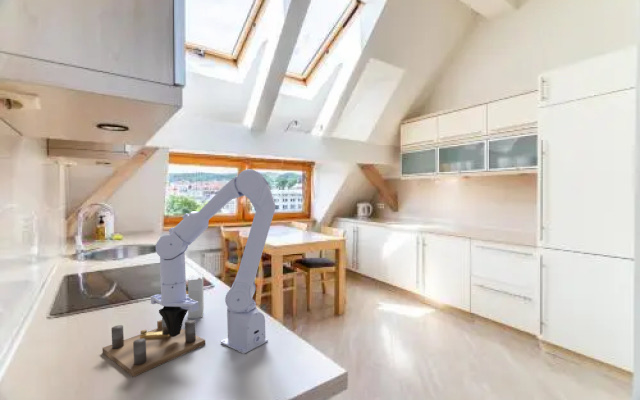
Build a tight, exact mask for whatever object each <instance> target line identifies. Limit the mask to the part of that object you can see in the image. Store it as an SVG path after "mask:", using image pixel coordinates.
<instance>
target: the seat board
mask: <svg viewBox="0 0 640 400" xmlns="http://www.w3.org/2000/svg"><path fill="white" fill-rule="evenodd" d="M156 322H157V324H156V325H157V328H155V329H151V330H149V331H148V330H147V329H143V330H140V334H137V335H134V336H131V337H128V338H126V339H124V338H125V337H124V325H122V324H120V325H119V324H117V325H114V326H112V327H111V344H110V345H107V346H104V347H101V348H102V350H101V351H102V354H103V355H105V356H106V357H107V358H109V359H110V360H111V361H113V362H114V363H115V364H116V365H117V366H119V367H121V369H123V370H124V371H125V372H127V374H129V375H130V376H132V377H133V378H135V377H136V376H139V375H142V373H145V372H148V371H150V370H153V369H154V368H156V367H158V366H161V365H163V364H165V363H167V362H170V361H172V360H174V359H176V358H179V357H181V356H183V355H186V354H188V353H190V352H192V351H194V350H196V349H199V348H201V347H203V346H206V339H205V338H202V337H200V336H198V335H196V334H197V333H196V320H193V319H191V320H186V321H185V322H184V329H183V328H182V327H181V332H180V334H179V335H177V336H175V337H171V336H169V337H166V338H145V339H144V338H141V339H140V335H141V334H145V333H147V332H162V319H160V320H157V321H156Z"/></svg>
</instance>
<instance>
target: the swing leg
mask: <svg viewBox="0 0 640 400" xmlns="http://www.w3.org/2000/svg"><path fill="white" fill-rule="evenodd" d="M161 320H162V332H148V331H147V333H145V334H141V333H140V334H141V335H140V334H139V335H140V339H141V338H144V339H145V338H166V337H169V336H170V335H169V332H168V329H167V326H166V323H165V321H164V319H163V317H161Z"/></svg>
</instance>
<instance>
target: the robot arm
mask: <svg viewBox="0 0 640 400" xmlns="http://www.w3.org/2000/svg"><path fill="white" fill-rule="evenodd" d="M241 197H245V198H247V199H248V200H249V202H250V203H251V205H252V207H253V208H254V210H255V213H254V216H253V220H252V223H251V227H250V230H249V232H248V237H247V240H246V243H245V247H244V250H243V253H242V257H241V261H240V264H239V266H238V267H239V268H238V271H237V273H236V276H235V278H234V281H233V282H232V285H231V287H230V289H228V291H227V293H226V295H225V298H224V300H225V305H226V317H227V322H226V323H227V337H226V338H224V339H222V340H220V344H223V345H224V346H226V347H229V348H231V349H233V350H235V351H237V352H239V353H242V354H246V353H249V352H250V351H252V350H254V349H256V348H258V347H259V346H261V345H263V344H265V343H267V342H268V341H269V339H268V338H266V318H265V315H264V314H263V313H262V312H261V311H259V309H258V307H257V303H256V301H255V300H254V298H253V297H254V295H255V292H256V290H257V287H256V283H255V282H256V276H257V273H258V269H259V265H260V262H261V259H262V255H263V251H264V249H265V245H266V242H267V238H268V234H269V231H270V227H271V224H272V222H273V218H274V214H275V211H276V203H275V200H274V197H273V194H272V191H271V187H270V183H269V182H268V181H267V180H266V178H265V177H264V175H263V174H262V173H260V172H258V171H256V170H254V169H252V168H251V169H249V168H248V169H244V170H241V171H240V172H239V173H238V175H237V176H235V177H233V178H232V179H230V180H229V181H228V182H227V183H226V184H225V185H223V187H221V188H220V189H219V191H217V193H215V195H214V196H213V197H212V198H211V199H210V200H209V201H208V202H207V203H206V204H205V205H203V207H202V208H201V209H200V210H199V211H190V212H189V213H187V212H186V213H185V214H182V216H181V217H182V219H181V221H180V222H179V223H178V224H176V226H174V227H170V228H169V229H168V232H169V234H165V235H162V236H160V237H159V239H158V240H157V242H156V243H155V244H156V245H155V252H156V254H157V255H158V257H159V263H160V264H159V270H160V271H159V273H160V294H159V293H158V294H154V295H151V296H150V304H152V305H155V304H157V305H161V306H162V307H163V308H160V309H159V310H158V313H159V315H160V316H161V318H163V319H164V321H165V323H166V326H167V329H168V332H169V335H170V336H171V337H175V336H177V335H179V334H180V332H181V328H182V327H183V323H184V321H185V317H186V315H187V314H188V310H190V312H194V311H196V310H198V309H199V307H198V301H194V300H192V299H191V298H189V295H188V294H186V284H187V282H186V281H187V280H186V279H187V278H186V258H185V255H186V254H185V252H187V250H188V247H189V246H191V244H193V243H194V242H195V241H196V240H197V239H198V238H199V237H200V236H201V235H202V234H203V233H204V232H205V231H207V229H208V228H209V220H210V219H212V218H213V216H215V215H216V214H217V213H218V212H220V210H222V209H223V208H224V207H225V206H226V205H228V204H229V203H230V202H231V201H232V200H234V199H239V198H241Z"/></svg>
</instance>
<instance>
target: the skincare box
mask: <svg viewBox="0 0 640 400" xmlns="http://www.w3.org/2000/svg"><path fill="white" fill-rule="evenodd" d="M187 280H188V281H187V285H188V295H189V298H191V299H192V300H194V301H198V307H199V309H198V310H196V311H194V312H190V310H188V311H187V319H188V320H189V319H191V320H192V319H198V318H202V317H203V314H204V308H205V305H204V304H205V303H204V302H205V301H204V299H205V298H204V273H198V274H191V275H189V277H188V279H187Z"/></svg>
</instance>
